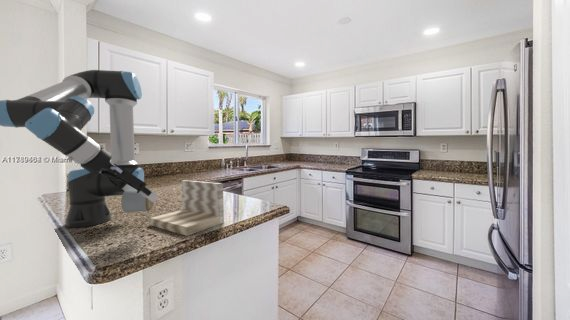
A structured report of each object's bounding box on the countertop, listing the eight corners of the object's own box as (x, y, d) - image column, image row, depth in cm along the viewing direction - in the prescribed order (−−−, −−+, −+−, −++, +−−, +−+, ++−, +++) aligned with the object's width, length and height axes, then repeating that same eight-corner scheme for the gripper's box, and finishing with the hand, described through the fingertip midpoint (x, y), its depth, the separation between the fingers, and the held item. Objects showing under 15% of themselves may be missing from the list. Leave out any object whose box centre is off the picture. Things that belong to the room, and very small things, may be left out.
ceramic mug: (148, 213, 81) (147, 190, 80) (121, 215, 79) (119, 191, 79) (158, 205, 91) (157, 185, 91) (134, 207, 90) (133, 186, 89)
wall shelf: (149, 225, 97) (147, 185, 96) (187, 214, 111) (185, 180, 110) (187, 235, 84) (185, 189, 83) (224, 222, 98) (222, 183, 97)
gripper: (65, 164, 76) (124, 202, 90) (96, 166, 64) (158, 211, 78) (85, 146, 80) (138, 186, 94) (117, 146, 68) (172, 191, 82)
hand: (147, 197), depth 86 cm, fingers closed on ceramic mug, 10 cm apart
